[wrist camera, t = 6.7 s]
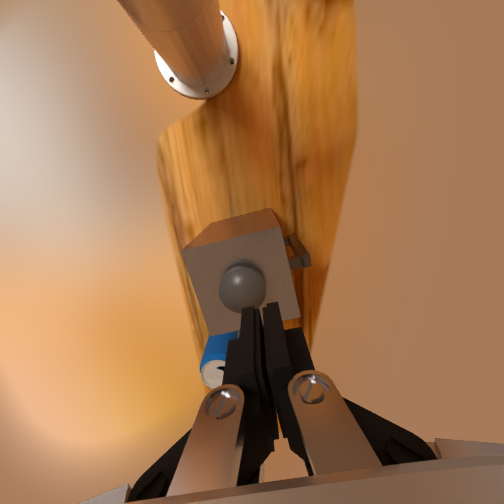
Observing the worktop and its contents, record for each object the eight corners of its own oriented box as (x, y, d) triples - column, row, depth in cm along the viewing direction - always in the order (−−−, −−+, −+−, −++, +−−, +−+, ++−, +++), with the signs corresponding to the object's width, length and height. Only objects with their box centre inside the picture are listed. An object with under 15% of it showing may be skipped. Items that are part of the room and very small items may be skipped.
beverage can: (248, 337, 52) (245, 381, 40) (221, 350, 53) (212, 397, 41) (231, 312, 50) (224, 351, 39) (205, 326, 51) (190, 369, 40)
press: (211, 222, 45) (181, 250, 27) (285, 204, 44) (306, 219, 26) (227, 277, 48) (210, 336, 30) (297, 261, 47) (324, 311, 29)
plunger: (216, 228, 44) (188, 262, 25) (266, 215, 43) (274, 241, 25) (230, 274, 46) (213, 337, 28) (277, 263, 46) (292, 319, 27)
